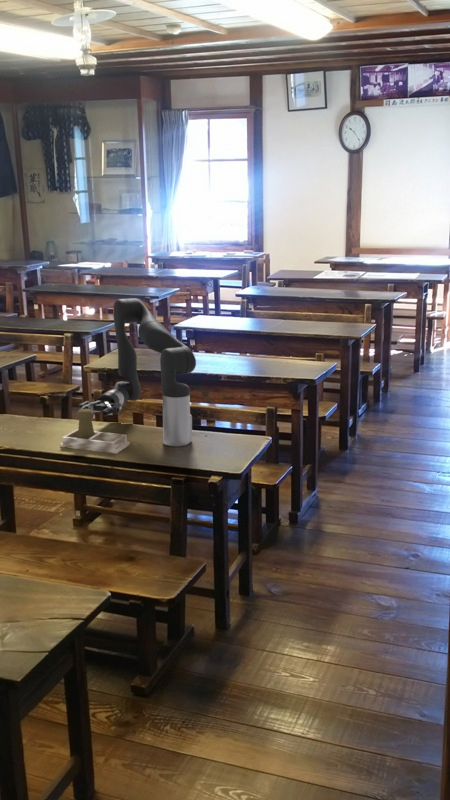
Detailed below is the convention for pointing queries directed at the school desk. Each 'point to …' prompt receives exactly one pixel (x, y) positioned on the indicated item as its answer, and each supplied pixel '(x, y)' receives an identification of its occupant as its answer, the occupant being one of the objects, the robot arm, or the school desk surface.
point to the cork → (85, 424)
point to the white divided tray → (96, 442)
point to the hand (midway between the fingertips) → (92, 412)
